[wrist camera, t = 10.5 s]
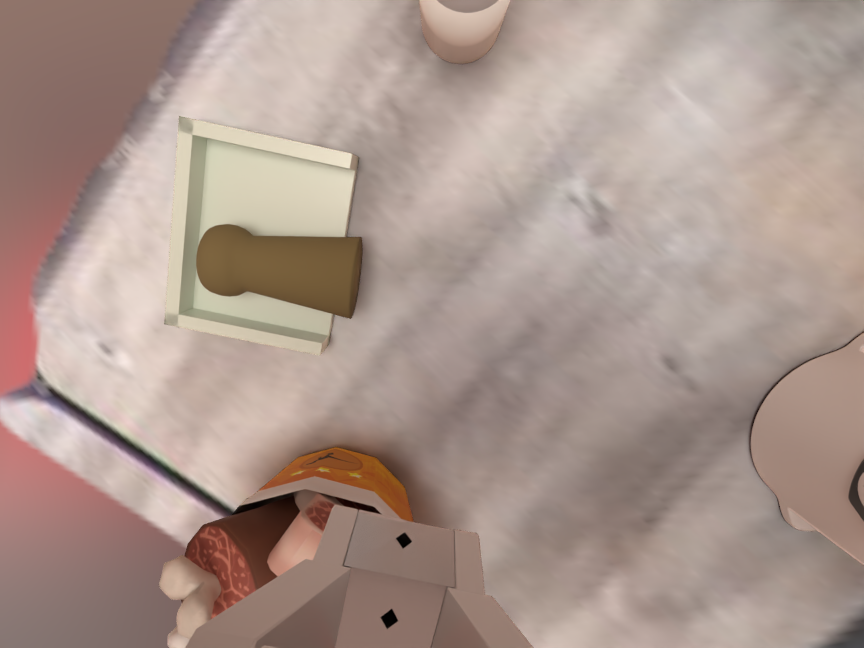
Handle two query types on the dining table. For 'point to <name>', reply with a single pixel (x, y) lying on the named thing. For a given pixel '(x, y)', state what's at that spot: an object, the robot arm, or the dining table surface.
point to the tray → (252, 225)
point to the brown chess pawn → (282, 267)
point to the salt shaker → (461, 27)
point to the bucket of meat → (274, 532)
